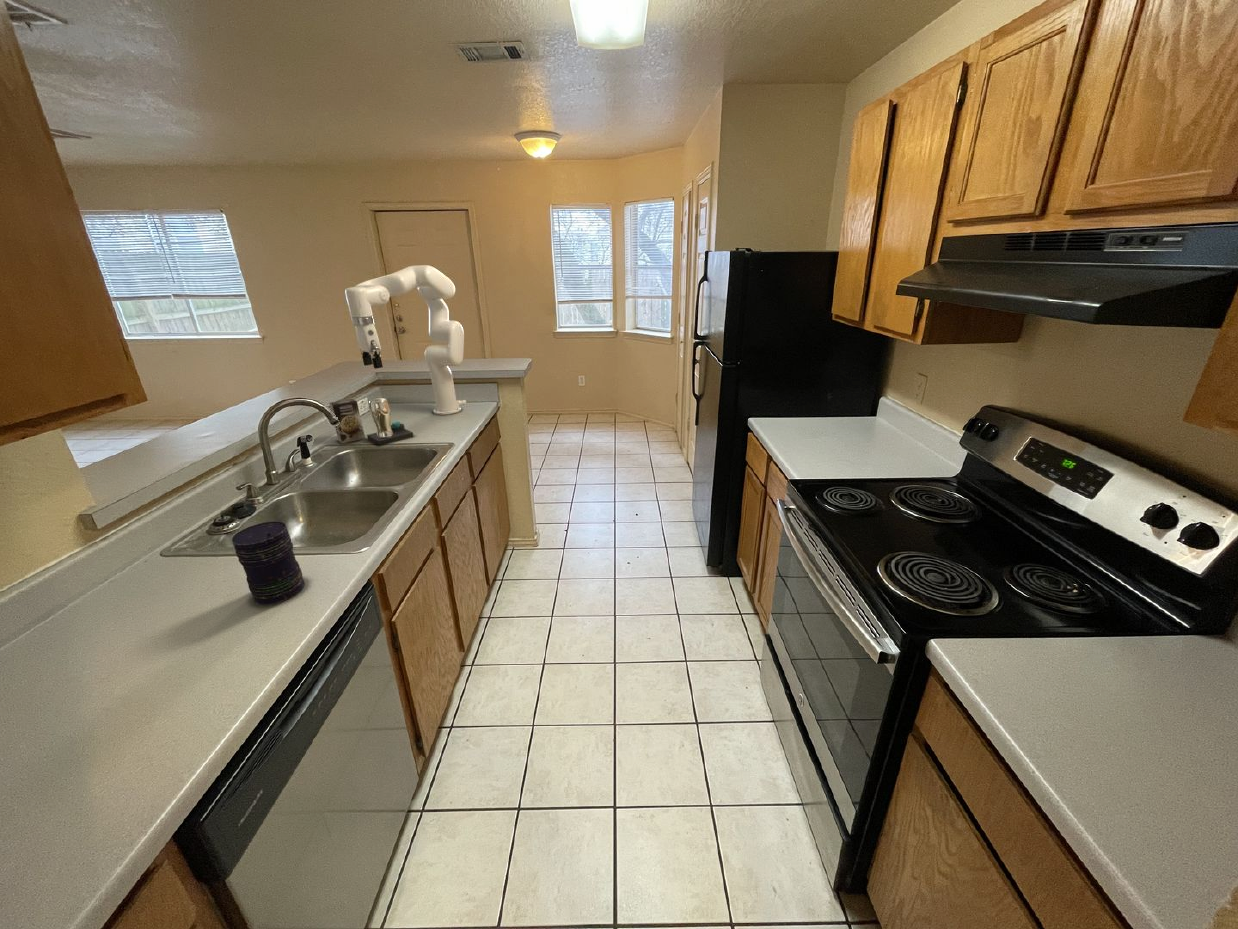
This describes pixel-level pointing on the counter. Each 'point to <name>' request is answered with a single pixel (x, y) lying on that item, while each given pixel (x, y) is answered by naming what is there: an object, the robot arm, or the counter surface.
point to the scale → (398, 435)
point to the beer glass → (381, 417)
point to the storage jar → (269, 562)
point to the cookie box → (348, 420)
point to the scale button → (396, 424)
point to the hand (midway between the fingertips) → (373, 366)
